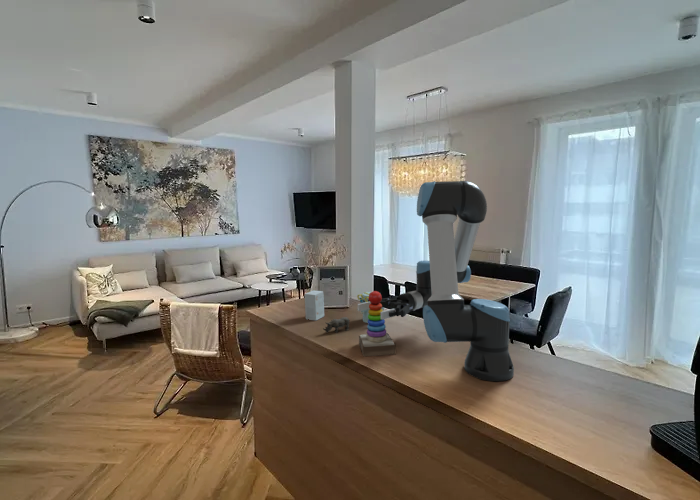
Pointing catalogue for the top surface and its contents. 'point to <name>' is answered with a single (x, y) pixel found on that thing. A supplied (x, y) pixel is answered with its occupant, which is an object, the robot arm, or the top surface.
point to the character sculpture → (363, 300)
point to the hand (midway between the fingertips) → (369, 311)
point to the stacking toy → (375, 319)
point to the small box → (314, 305)
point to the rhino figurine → (337, 324)
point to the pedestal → (376, 346)
